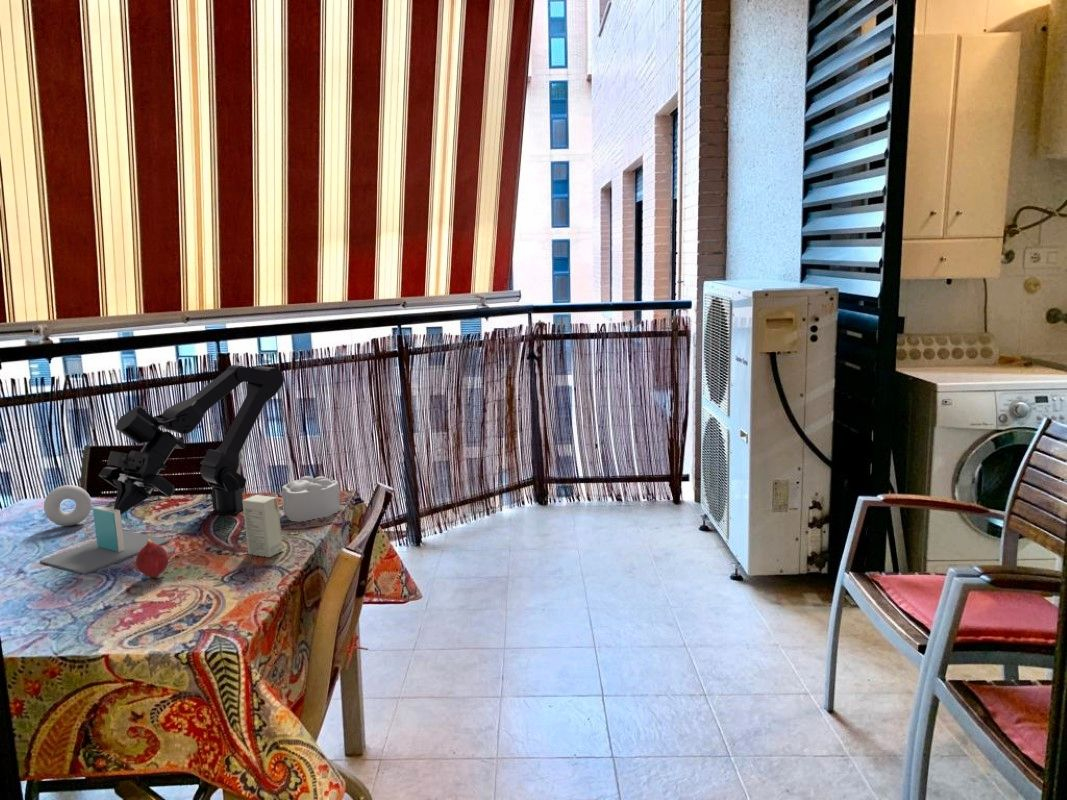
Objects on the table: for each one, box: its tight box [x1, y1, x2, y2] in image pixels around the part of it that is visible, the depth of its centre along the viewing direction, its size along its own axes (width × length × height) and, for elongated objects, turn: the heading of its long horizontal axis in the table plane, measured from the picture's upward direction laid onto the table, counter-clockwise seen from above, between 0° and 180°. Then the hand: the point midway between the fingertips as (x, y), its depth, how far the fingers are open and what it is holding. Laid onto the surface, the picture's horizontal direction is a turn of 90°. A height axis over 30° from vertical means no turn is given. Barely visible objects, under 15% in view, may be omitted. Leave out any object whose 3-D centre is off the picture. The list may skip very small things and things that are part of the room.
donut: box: [43, 484, 93, 527], centre depth 189 cm, size 10×4×10 cm, turn 117°
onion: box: [135, 539, 170, 579], centre depth 157 cm, size 6×6×8 cm
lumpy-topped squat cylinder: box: [281, 475, 341, 522], centre depth 195 cm, size 10×13×9 cm
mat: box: [39, 530, 170, 575], centre depth 172 cm, size 20×15×1 cm
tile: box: [92, 505, 125, 552], centre depth 172 cm, size 2×7×9 cm, turn 63°
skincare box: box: [242, 494, 284, 558], centre depth 169 cm, size 6×4×12 cm
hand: (115, 515), depth 174 cm, fingers closed
